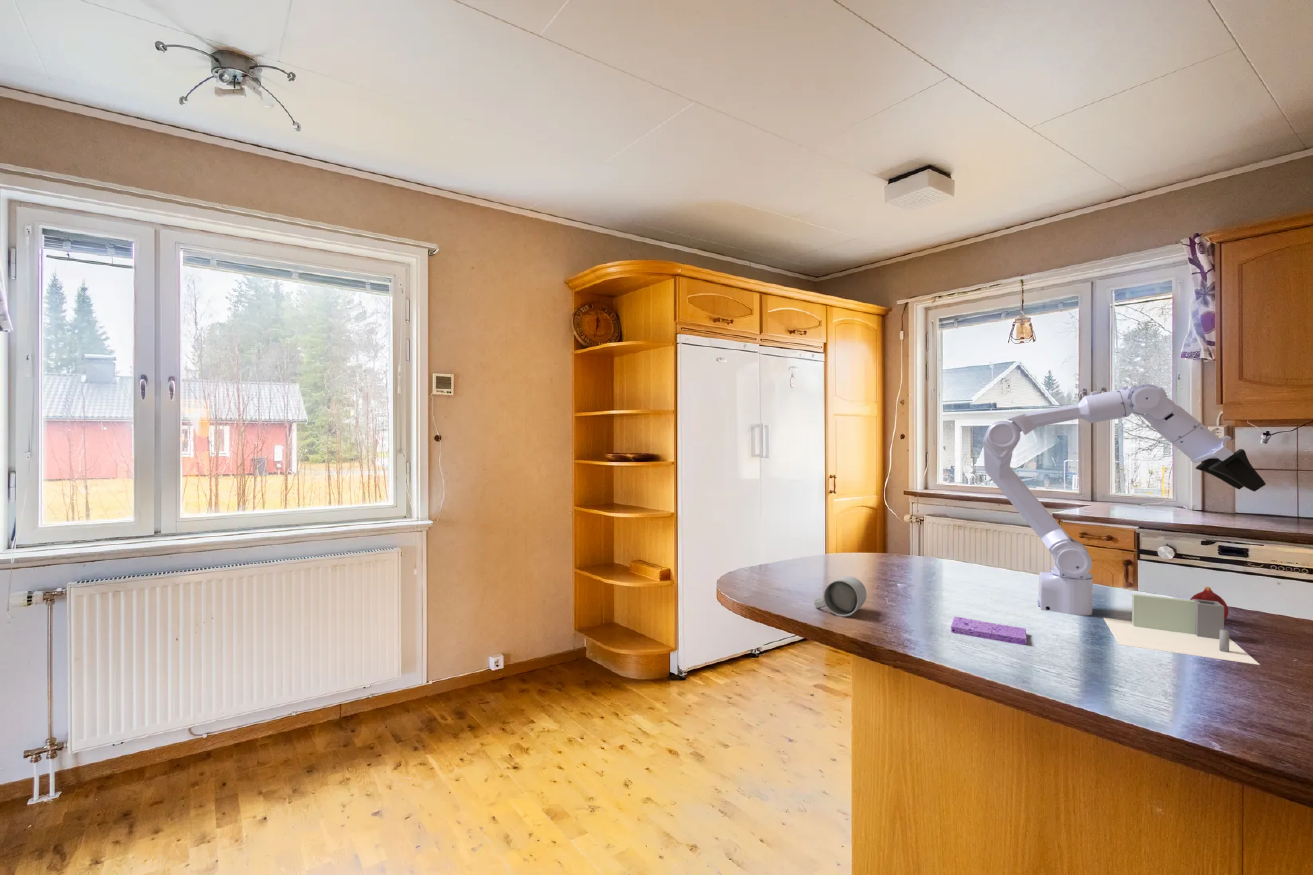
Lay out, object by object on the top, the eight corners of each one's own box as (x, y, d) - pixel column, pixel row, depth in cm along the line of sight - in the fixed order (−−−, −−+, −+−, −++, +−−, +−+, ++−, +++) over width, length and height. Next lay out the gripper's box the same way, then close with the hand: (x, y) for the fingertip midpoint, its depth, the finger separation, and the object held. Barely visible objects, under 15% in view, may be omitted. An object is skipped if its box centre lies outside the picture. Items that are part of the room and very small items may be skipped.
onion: (1236, 632, 113) (1236, 591, 113) (1201, 630, 114) (1202, 590, 114) (1214, 623, 119) (1214, 584, 119) (1181, 621, 120) (1181, 582, 120)
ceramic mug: (868, 609, 128) (868, 574, 128) (859, 619, 121) (858, 582, 121) (820, 602, 134) (820, 569, 134) (809, 612, 127) (808, 576, 127)
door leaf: (1134, 628, 112) (1135, 596, 111) (1130, 622, 115) (1131, 592, 115) (1223, 639, 105) (1224, 606, 105) (1217, 633, 108) (1217, 601, 108)
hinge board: (1119, 652, 103) (1119, 624, 103) (1102, 624, 118) (1103, 600, 118) (1260, 673, 94) (1260, 642, 94) (1223, 640, 109) (1223, 614, 109)
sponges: (954, 625, 119) (954, 616, 119) (1027, 636, 112) (1027, 627, 112) (950, 635, 113) (950, 625, 113) (1026, 648, 107) (1026, 637, 107)
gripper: (1218, 416, 105) (1291, 473, 100) (1194, 420, 118) (1258, 471, 113) (1180, 442, 108) (1249, 499, 103) (1161, 444, 120) (1222, 495, 115)
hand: (1251, 486), depth 108 cm, fingers open, 7 cm apart
